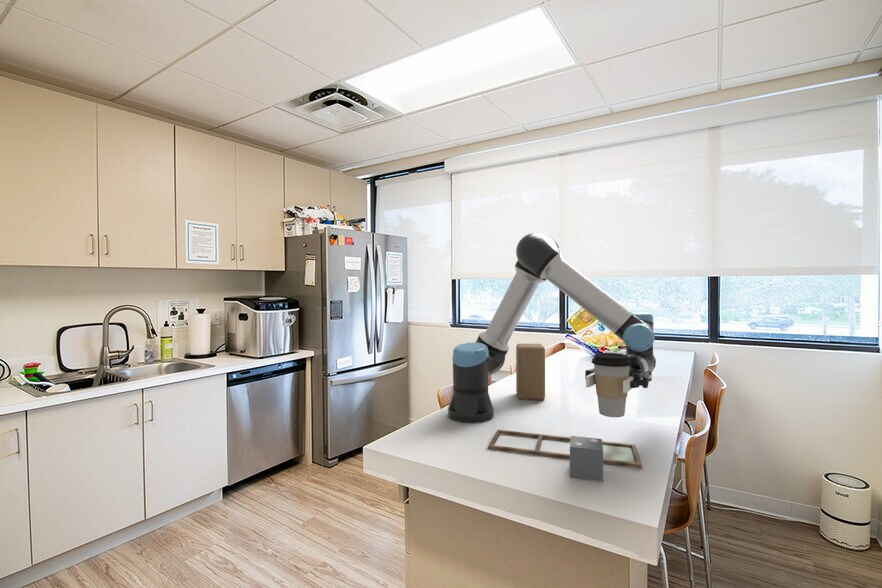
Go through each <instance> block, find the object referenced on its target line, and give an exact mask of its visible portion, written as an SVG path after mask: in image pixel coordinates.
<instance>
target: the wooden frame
mask: <svg viewBox="0 0 882 588" xmlns="http://www.w3.org/2000/svg"><path fill="white" fill-rule="evenodd" d="M500 435H509V436H516V437H517V436H518V437H525V438H536V439H537V440H536V441H537V442H536V445H535V448H534V449H527V448H520V447H511V446H504V445H495V444H496V442H497V441H498V439H499V438H500ZM543 439H545V440H550V441H551V440H554V441H562V442H569V443H570V439H571V436H569V437H568V436H559V435H552V434H551V435H550V434H544V433H542V434H541V433H534V432H533V433H532V432H524V431H516V430H515V431H514V430H505V429H497V430H496V432H495V433H494V435H493V437H492V439H491V440H490V442H489V444H488V445H487V449H488V450H494V451H502V452H510V453H517V454H525V455H526V454H527V455H534V456H540V457H541V456H542V457H548V458H549V457H550V458H558V459H565V460H570V453H569V454H567V453H562V452H561V453H560V452H552V451H544V450H541V446H542V443H543ZM602 444H603V465H604V464H605V465H613V466H618V467H619V466H620V467H627V466H629V467H630V468H635V467H638V468H637V469H643V463H642V459H641V457H640V454H639V450H638V447H637V444H633V443H625V442H615V441H605V440H602ZM629 467H628V468H629Z"/></svg>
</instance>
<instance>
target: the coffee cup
mask: <svg viewBox="0 0 882 588" xmlns="http://www.w3.org/2000/svg"><path fill="white" fill-rule="evenodd" d="M591 364H593V366H594V367H593V368H594V369H595V373H594V375H595V384H594V385H595V392H596V395H597V405H598V412H599V414H600V415H602V416H603V417H607V418H622V417H625V413H626V406H627V405H626V403H627V402H626V401H627V397H628V393H629V391H628V392H627V393H623V381H624V380H626V379H627V378H629V368H630V365H632V364H631V361H630V360H629V359H628V356H627V355H626V354H624V353H618V352H617V353H616V352H597V353H595V354H594V357H593V358H591Z"/></svg>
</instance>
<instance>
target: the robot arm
mask: <svg viewBox="0 0 882 588" xmlns="http://www.w3.org/2000/svg"><path fill="white" fill-rule="evenodd" d="M515 255H516V259H517V261H516V263H515V265H514V268H515V274H514V276H513V278H512V281H511V282H510V284H509V286H508V288H507V289H506V292H505V294H504V295H503V298H502V299H501V301H500V304H499V305H498V307H497V309H496V310H495V313H494V315H493V317H492V319H491V321H490V322H489V324H488V326H487V328H486V330H485V331H484V332H480V333H479V334H478V337H477V339H476V340H475V342H465V343H460V344H458V345H456V346H455V347H454V348H453V351H452V356H451V357H452V358H451V359H452V390H453V391H452V395H451V398H450V400H449V404H448V407H447V416H448V418H450V419H451V420H453V421H456V422H460V423H483V422H487V421H490V420H492V419H493V418H494V417H495V415H494V411H495V410H494V407H493V403H492V400H491V398H490V394H489V376H491V375H493V374H496V373H498V372H499V371H500V370H501V368H502V367H503V366H504V364H505V361H506V355H507V353H508V352H509V350H510V347H509V345H508V342H509V340H510V338H511V337H512V336H513V332H514V331H515V329H516V327H517V326H518V324H519V322H520V320H521V318H522V316H523V315H524V312H525V311H526V308H527V306H528V305H529V303H530V302H531V300H532V297H533V296H534V294H535V292H536V290H537V288H538V287H539V285H540V284H541V283H544V282H547V281H548V282H549V283H551V284H552V285H553V286H555V287H556V288H557V289H558V290H560V291H561V292H562V293H564V294H565V295H566V296H567V297H568V298H570V299H571V300H572V301H573V302H574V303H576V304H577V305H578V306H579V307H581V308H582V309H583V310H584V311H586V312H587V313H588V314H590V316H592V317H593V318H594V319H596V320H597V321H598V322H599V323H600V324H601V325H603V326H604V327H606V328H607V329H608V330H609V331H610V332H612V333H613V334H614V335H615V336H616V337H617V338H619V339H620V340H621V341H622V342H623V343H624V344H625V349H626V350H625V355H627V356H628V359H629V360H630V361H631V364H632V365H630V368H629V378H627V379H626V380H624V381H623V393H627V392H628V393H629V392H630V391H631V390H633V389H637V388H640V387H642V389H643V388H644V389H647V388H649V382H652V379H653V378H652V377H653V375H652V373H653V371H654V369H656V366H657V359H656V357H655V354H654V343H655V339H656V337H655V332H654V316H653V314H652V313H650V312H631V311H630V310H628V309H627V308H626V307H625V306H623V305H622V304H621V303H619V302H618V301H617V300H615V299H614V298H613V297H612V296H610V295H609V294H608V293H607V292H605V291H604V290H603V289H601V288H600V287H599V286H598V285H597V284H596V283H594V282H593V281H591V280H590V279H589V278H587V277H586V276H585V275H583V274H582V273H581V272H580V271H579V270H577V269H576V268H575V267H574V266H573V265H571V264H569V263H568V261H566V260H564V258H563V254H562V253H561V249H560V246H559V244H558V243H557V242H556V241H555V239H553V238H552V237H550V236H546V235H545V234H543V233H538V232H532V233H528V234H526V235H525V236H523V237H522V238H520V240H519V241H518V243H517V246H516V249H515ZM584 373H585V374H584V375H585V377H584V378H585V387H586V388H591V387H593V386H595V385H596V384H595V375H594V373H595V369H594V367H592V368H589V369H586V370H585V371H584ZM628 393H627V394H628Z"/></svg>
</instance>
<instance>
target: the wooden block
mask: <svg viewBox="0 0 882 588" xmlns="http://www.w3.org/2000/svg"><path fill="white" fill-rule="evenodd" d="M515 348H516V349H515V355H516V358H515V360H516V361H515V364H516V365H515V367H516V368H515V370H516V371H515V373H516V374H515V375H516V377H515V378H516V380H515V386H516V387H515V389H516V390H515V391H516V394H517V398H518V399H519V400H521V399H530V400H529V401H532V400H533V401H544V400H545V399H546V349H545V347H544V346H543V345H542V344H540V343H517V344H516V346H515Z"/></svg>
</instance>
